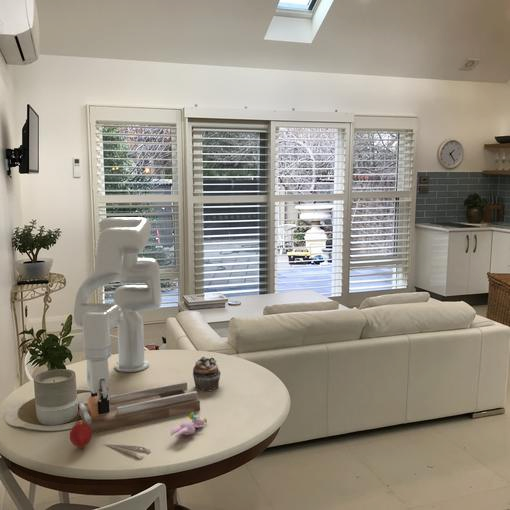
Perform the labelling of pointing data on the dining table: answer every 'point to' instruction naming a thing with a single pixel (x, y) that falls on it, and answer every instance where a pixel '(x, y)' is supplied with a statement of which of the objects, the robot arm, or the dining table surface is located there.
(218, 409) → the dining table surface
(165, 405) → the trap tube
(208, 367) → the cupcake
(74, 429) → the onion
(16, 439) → the dining table surface
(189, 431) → the pink plastic figure
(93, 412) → the block
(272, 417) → the dining table surface
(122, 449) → the tweezers
